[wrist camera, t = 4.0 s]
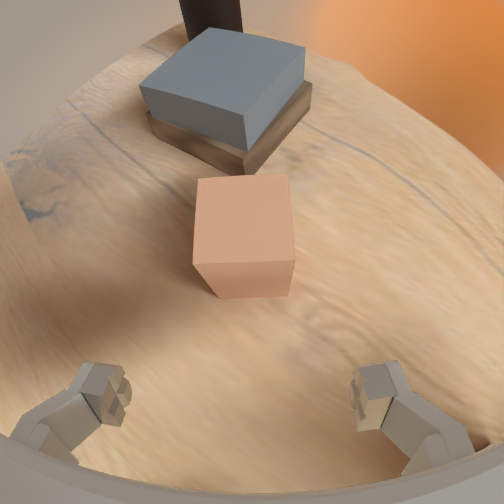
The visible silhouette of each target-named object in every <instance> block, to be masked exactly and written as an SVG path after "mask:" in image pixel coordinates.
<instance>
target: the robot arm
mask: <svg viewBox="0 0 504 504" xmlns="http://www.w3.org/2000/svg"><path fill="white" fill-rule="evenodd" d="M124 375H125V372H124V370H123V368H122V367H121V366H117V365H110V364H104V363H96V362H90V361H86V362H84V363H83V364H82V366H81V368H80V369H79V371H78V373H77V374H76V376H75V378H74V379H73V381H72V383H71V385H70V386H69V388H68V390H65V389H64V390H63V391H61V392H59V393H58V394H56V395H55V396H53V397H51V398H50V399H48V400H46V401H45V402H43V403H42V404H40V405H38V406H37V407H35V408H33V409H32V410H30V411H28V412H27V413H25V414H23V415H22V416H21V418H20V420H19V422H18V423H17V425H16V427H15V428H14V430H13V432H12V434H11V436H10V437H6V436H4V435H2V434H0V504H504V440H503V441H501V442H499V443H497V444H494V445H492V446H490V447H488V448H485V449H483V450H481V451H478V452H475V450H474V447H473V445H472V443H471V440H470V438H469V436H468V433H467V431H466V429H465V427H464V425H463V424H462V423H460V422H459V421H457V420H456V419H454V418H453V417H451V416H450V415H448V414H447V413H445V412H444V411H442V410H441V409H439V408H438V407H436V406H435V405H433V404H432V403H430V402H429V401H428V400H426V399H425V398H423V397H422V396H420V395H419V394H417V393H412V391H411V389H410V386H409V384H408V382H407V379H406V377H405V375H404V372H403V370H402V368H401V366H400V363H399V362H398V361H397V360H393V361H386V362H379V363H371V364H364V365H356V366H355V368H354V371H353V375H354V380H353V381H352V382H351V385H350V402H351V407H352V408H354V409H355V410H356V411H355V414H354V420H355V424H356V429H357V432H359V431H367V430H374V429H380V430H381V431H382V432H383V433H384V434H385V435H386V436H387V437H388V438H389V439H390V440H391V441H392V442H393V443H394V444H395V445H396V446H397V447H398V448H399V449H400V450H401V451H402V452H403V453H405V454H406V455H407V456H408V457H409V458H410V459H411V460H410V461H409V463H408V464H407V465H406V467H405V468H404V469H403V471H402V472H401V477H397V478H393V479H388V480H384V481H379V482H374V483H368V484H363V485H357V486H351V487H344V488H336V489H328V490H319V491H307V492H292V493H228V492H213V491H201V490H192V489H183V488H176V487H169V486H163V485H157V484H151V483H146V482H141V481H136V480H131V479H127V478H122V477H118V476H114V475H110V474H106V473H103V472H99V471H95V470H92V469H89V468H85V467H82V466H79V465H78V464H79V461H78V459H77V458H76V457H75V456H74V455H73V454H72V453H71V451H72V450H74V449H75V448H76V447H77V446H78V445H79V444H80V443H82V442H83V441H84V440H85V439H86V438H87V437H88V436H89V435H91V434H92V433H93V432H94V431H95V430H96V429H97V428H98V427H100V426H101V424H105V425H111V426H117V427H121V424H122V422H123V419H124V417H125V414H126V413H125V411H124V408H125V407H127V406H128V405H129V404H130V401H131V397H132V389H131V385H130V383H129V381H128V380H127V379H126V378H124Z"/></svg>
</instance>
